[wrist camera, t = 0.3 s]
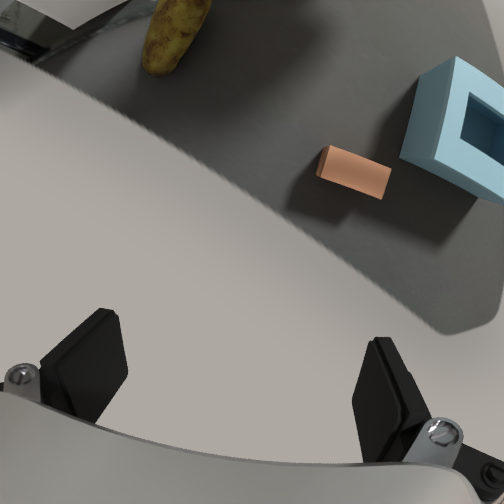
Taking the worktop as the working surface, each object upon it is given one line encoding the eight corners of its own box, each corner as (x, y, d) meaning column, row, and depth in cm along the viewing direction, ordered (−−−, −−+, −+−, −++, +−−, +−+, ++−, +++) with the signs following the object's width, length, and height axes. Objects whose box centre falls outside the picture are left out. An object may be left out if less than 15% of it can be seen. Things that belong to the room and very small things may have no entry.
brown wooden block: (323, 147, 35) (330, 145, 29) (376, 166, 35) (391, 168, 29) (315, 174, 36) (320, 177, 30) (367, 193, 36) (381, 199, 30)
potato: (131, 53, 33) (101, 37, 26) (199, -8, 30) (181, -36, 22) (165, 87, 34) (138, 73, 27) (239, 22, 31) (228, -6, 23)
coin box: (419, 76, 30) (455, 55, 21) (496, 122, 30) (540, 119, 20) (398, 157, 34) (434, 158, 24) (478, 197, 34) (522, 211, 24)
